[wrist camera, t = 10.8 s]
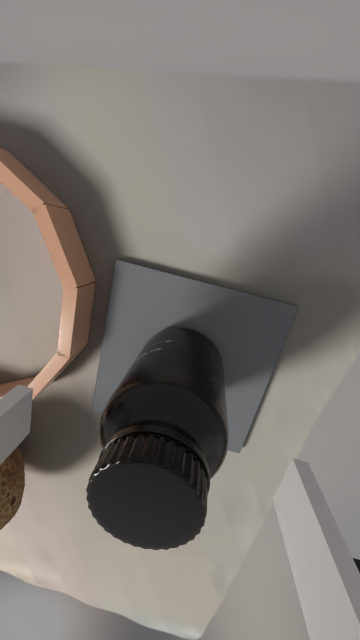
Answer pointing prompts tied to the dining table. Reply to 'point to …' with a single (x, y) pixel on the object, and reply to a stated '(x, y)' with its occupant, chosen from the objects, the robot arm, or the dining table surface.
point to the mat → (200, 315)
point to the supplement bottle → (161, 442)
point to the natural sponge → (11, 485)
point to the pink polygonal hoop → (67, 262)
